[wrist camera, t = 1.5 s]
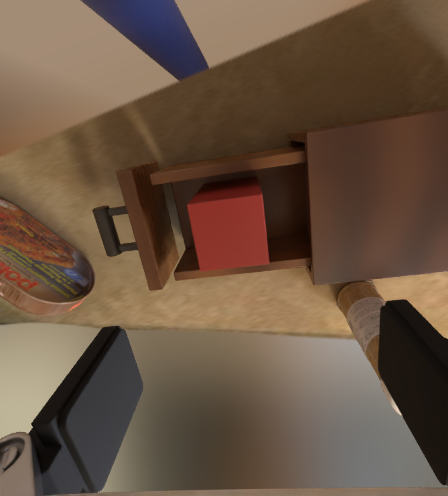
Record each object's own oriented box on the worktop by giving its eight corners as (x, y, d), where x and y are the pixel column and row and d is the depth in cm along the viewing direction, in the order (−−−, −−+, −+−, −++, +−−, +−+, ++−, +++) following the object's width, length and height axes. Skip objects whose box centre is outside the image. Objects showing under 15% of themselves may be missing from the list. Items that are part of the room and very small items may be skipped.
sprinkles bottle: (379, 310, 33) (462, 419, 20) (338, 317, 33) (394, 427, 21) (375, 275, 31) (464, 370, 19) (332, 284, 32) (390, 380, 19)
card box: (212, 234, 29) (200, 272, 21) (203, 183, 27) (186, 204, 19) (262, 227, 28) (269, 264, 20) (256, 175, 26) (262, 193, 18)
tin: (109, 273, 33) (67, 316, 25) (94, 290, 34) (50, 336, 26) (-9, 184, 30) (-98, 202, 22) (-21, 206, 31) (-110, 230, 23)
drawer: (132, 263, 32) (105, 295, 25) (104, 169, 28) (64, 179, 22) (313, 242, 29) (332, 271, 23) (308, 136, 26) (329, 137, 19)
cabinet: (295, 246, 30) (313, 285, 23) (287, 132, 26) (306, 132, 19) (462, 227, 29) (545, 262, 21) (482, 100, 24) (593, 85, 17)
